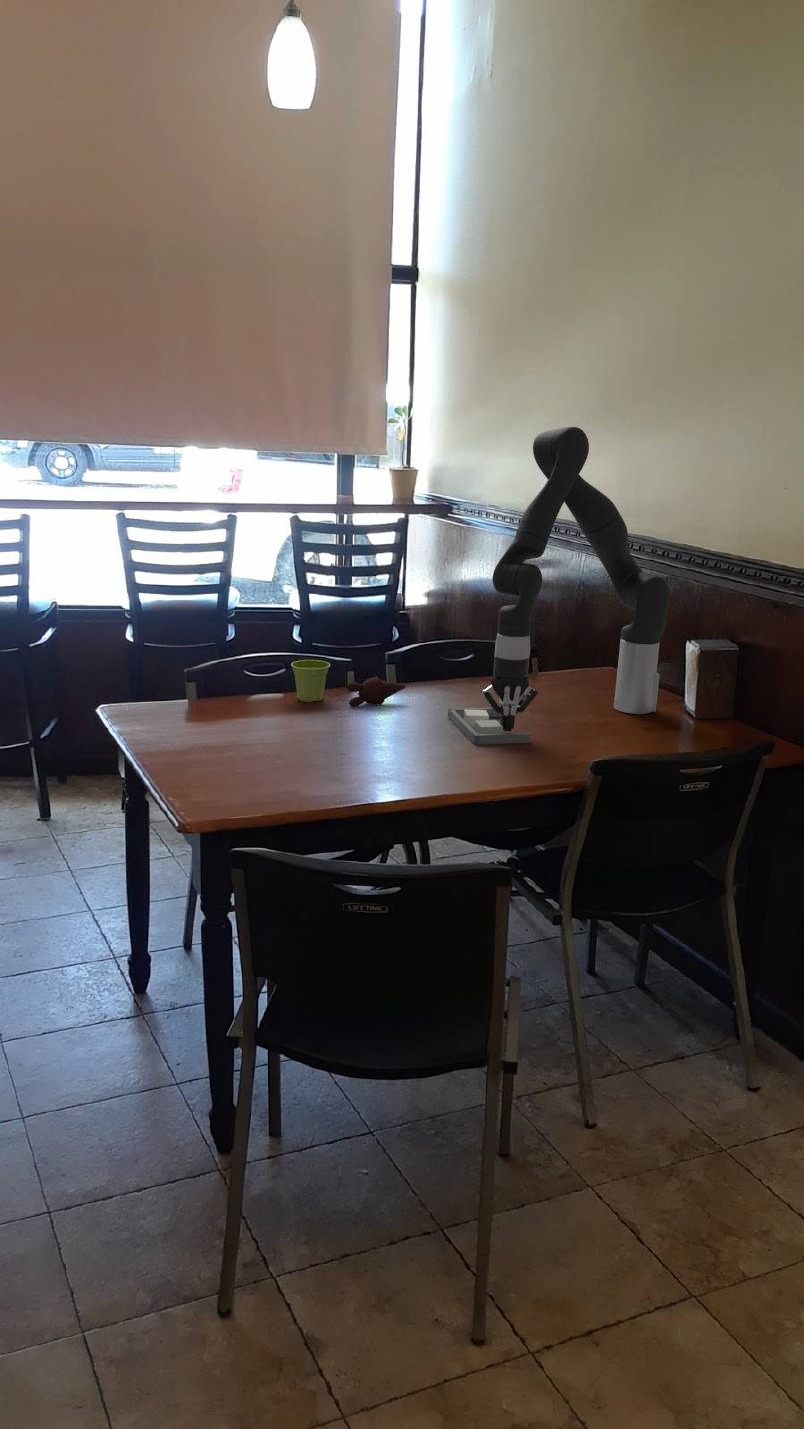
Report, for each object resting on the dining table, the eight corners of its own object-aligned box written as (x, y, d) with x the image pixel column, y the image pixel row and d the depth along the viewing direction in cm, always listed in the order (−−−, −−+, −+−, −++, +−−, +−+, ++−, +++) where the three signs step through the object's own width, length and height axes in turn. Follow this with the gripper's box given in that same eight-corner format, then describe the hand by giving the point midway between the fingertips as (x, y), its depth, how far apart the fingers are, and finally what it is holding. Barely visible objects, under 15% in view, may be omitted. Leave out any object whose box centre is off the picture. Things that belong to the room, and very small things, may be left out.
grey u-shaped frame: (499, 715, 262) (499, 707, 262) (529, 742, 243) (530, 733, 242) (448, 716, 259) (448, 708, 259) (474, 744, 240) (475, 735, 239)
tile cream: (485, 722, 257) (485, 709, 256) (488, 728, 252) (489, 716, 252) (463, 722, 257) (464, 709, 256) (466, 728, 252) (467, 715, 251)
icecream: (397, 671, 273) (340, 681, 267) (409, 671, 266) (350, 681, 260) (401, 700, 273) (344, 709, 268) (413, 700, 266) (355, 710, 261)
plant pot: (284, 701, 266) (284, 666, 264) (299, 692, 275) (299, 657, 272) (321, 706, 264) (322, 670, 261) (335, 696, 272) (335, 662, 270)
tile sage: (494, 732, 250) (495, 719, 249) (502, 739, 245) (503, 726, 244) (473, 733, 249) (474, 720, 248) (480, 740, 244) (481, 727, 243)
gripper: (534, 649, 247) (529, 724, 252) (477, 650, 244) (473, 726, 249) (546, 657, 240) (540, 734, 245) (488, 658, 237) (483, 736, 242)
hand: (506, 730), depth 247 cm, fingers closed
